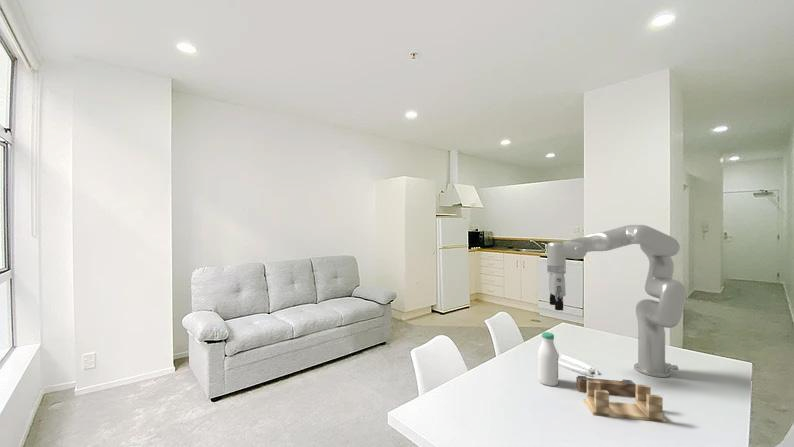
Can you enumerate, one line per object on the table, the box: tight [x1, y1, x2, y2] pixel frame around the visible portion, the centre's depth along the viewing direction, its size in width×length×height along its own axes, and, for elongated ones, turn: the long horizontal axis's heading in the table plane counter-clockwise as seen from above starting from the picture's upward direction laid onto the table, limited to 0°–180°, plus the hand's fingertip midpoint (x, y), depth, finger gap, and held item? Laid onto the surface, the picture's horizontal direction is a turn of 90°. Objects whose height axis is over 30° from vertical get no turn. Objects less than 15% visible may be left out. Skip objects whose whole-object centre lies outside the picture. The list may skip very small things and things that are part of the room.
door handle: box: [557, 352, 600, 378], centre depth 153 cm, size 3×10×25 cm
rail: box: [575, 375, 636, 398], centre depth 128 cm, size 20×4×5 cm, turn 79°
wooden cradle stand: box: [583, 380, 667, 423], centre depth 115 cm, size 22×8×8 cm, turn 79°
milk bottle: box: [537, 331, 559, 387], centre depth 136 cm, size 8×8×20 cm
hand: (556, 307), depth 149 cm, fingers open, 9 cm apart
